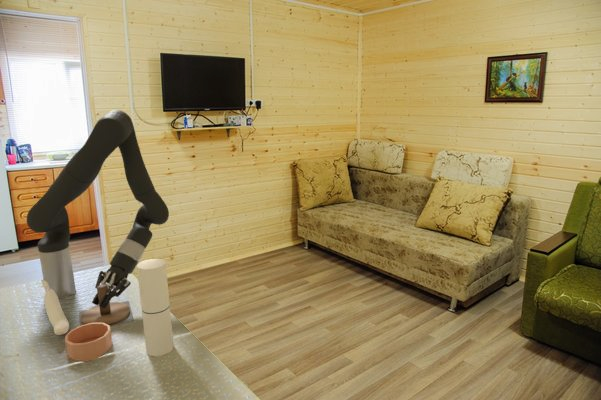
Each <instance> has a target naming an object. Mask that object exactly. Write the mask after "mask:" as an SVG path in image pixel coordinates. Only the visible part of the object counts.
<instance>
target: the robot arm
mask: <svg viewBox="0 0 601 400" xmlns="http://www.w3.org/2000/svg"><path fill="white" fill-rule="evenodd" d="M116 149H119V152H120V154H121V157H122V162H123V167H124V168H123V169H124V174H125V178H126V182H127V184H128V186H129V189H130V190H131V193H132V195H133V197H134V199H135V200H136V201H137V202H139V203H141V204H142V205H141V206H140V208H138V211H137V212H136V216H135V218H134V222H133V225H132V228H131V229H130V231H129V233H128V234H127V236H126V237H125V239H124V241H123V242H122V243H121V244H120V245H119V247H118V249H117V250H116V253H115V254H114V255H113V257H112V259H111V261H110V262H109V265H110V267H109V268H108V270H106V271H102V270H100V272H99V273H98V277H97V280H96V284H95V285H94V287H95V289H97V286H99V285H103V284H105V285H107V286H108V290H107V292H106V295H104V297H103V299H102V300H101V302H100V304H99V300H98V293H96V294H95V296H94V297H93V299H92V301H91V303H92V304H94V305H95V306H97V305H99V306H100V307H102V308H105V307H106V306H107V305H108V303H109V302H110V303H111V300H112V299H113V298H114V297H115V298H119V297H120V295H122V293H123V292H124V291H126V289H127V288H129V286H130V285H131V283H132V282H131V281H130V280H128V276H129V274H130V275H131V274H132V273H133V272H134V270H135V269H136V268H137V264H138V263H140V260H141V259H142V257H143V255H144V252H145V250H146V249H147V247H148V245H149V244H150V242H151V239H152V238H153V232H152V231H151V230H150V228H151V226H152V224H153V225H157V226H158V225H159V226H160V225H163V224H166V222H168V219H169V216H170V212H169V208H168V206H167V204H166V203H165V201H164V200H163V198H162V197H161V195H160V194H159V193H158V192H157V190H156V188H155V186H154V184H153V181H152V179H151V177H150V175H149V172H148V170H147V167H146V164H145V161H144V159H143V156H142V152H141V149H140V146H139V141H138V139H137V135H136V130H135V127H134V123H133V120H132V118H131V117H130V115H128V114H127V112H124V111H122V110H119V109H113V110H110V111H108V112H107V113H106V114H104V115H102V117H100V118H99V119H98V120H97V122H96V123H95V125H94V127H93V129H92V131H91V132H90V134H89V136H88V137H87V139H86V141H85V142H84V144H83V145H82V147H81V148H80V149H78V151H77V152H76V153H75V154H74V155H73V156H72V157H71V158H70V160H68V162H67V163H66V165H65V166H64V167H63V168H62V170H61V171H60V173H59V174H58V175H57V177H56V178H55V180H54V181H53V182H52V184H51V185H50V186H49V188H48V189H47V191H46V192H45V193H44V194H43V196H41V197H40V199H39V200H37V202H35V203H34V205H33V206H32V207H30V208H29V211H28V212H27V215H26V224H27V226H28V228H29V229H30V231H32V232H35V233H38V234H39V233H41V234H42V233H45V234H44V235H43V236H42V237H41V239H40V240H39V241H38V242H37V251H38V255H39V256H38V257H39V261H40V266H41V272H42V273H41V275H42V277H43V279H42V280H45V281H46V282H48V285H49V287H50V288H51V289H52V290H54V292H55V293H56V295H57V297H58V299H62V298H67V297H69V296H72V295H74V294H75V293H76V291H77V289H76V284H75V283H76V282H75V275H74V269H73V263H72V262H73V261H72V257H71V256H72V255H71V249H70V244H69V243H70V238H71V231H70V230H71V229H70V221H69V220H70V219H69V214H68V210H67V209H66V206H67V205H69V204H71V203H72V202H73V201H75V200H76V199H77V198H78V197H80V196H81V195H83V193H85V192H86V191H87V190H88V189H89V188H90V186H91V185H92V184H93V183H94V181H95V180H96V179H97V178H98V175H99V174H100V171H101V170H102V167H103V165H104V163H105V161H106V159H107V158H108V157H109V156H110V155H111V154H112V153H113V152H114V151H115V150H116ZM44 291H45V293H46V290H45V289H44Z"/></svg>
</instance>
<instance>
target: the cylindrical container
mask: <svg viewBox="0 0 601 400" xmlns="http://www.w3.org/2000/svg"><path fill="white" fill-rule="evenodd" d="M136 269H137V281H138V289H139V296H140V297H139V298H140V306H141V315H142V324H143V325H142V326H143V332H144V340H145V341H144V342H145V351H146V354H147V355H148V356H151V357H161V356H165V355H167V354H169V353H170V352H172V350H173V349H174V347H175V346H174V338H173V337H174V336H173V335H174V334H173V326H172V315H171V314H172V313H171V304H170V296H169V286H168V275H167V274H168V273H167V262H166V260H164V259H161V258H150V259H145V260H142V261H139V262H138V264H137V265H136Z"/></svg>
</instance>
